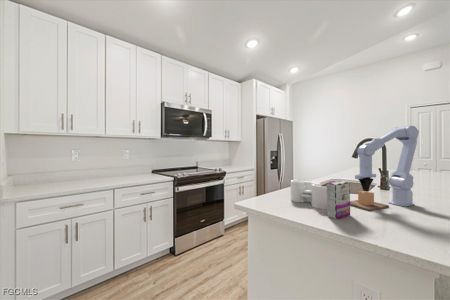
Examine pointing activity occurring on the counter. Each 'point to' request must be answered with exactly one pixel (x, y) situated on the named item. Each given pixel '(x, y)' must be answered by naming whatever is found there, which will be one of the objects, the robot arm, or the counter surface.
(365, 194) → the tan rectangular block
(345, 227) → the counter surface
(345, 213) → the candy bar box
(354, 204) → the post board
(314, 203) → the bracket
